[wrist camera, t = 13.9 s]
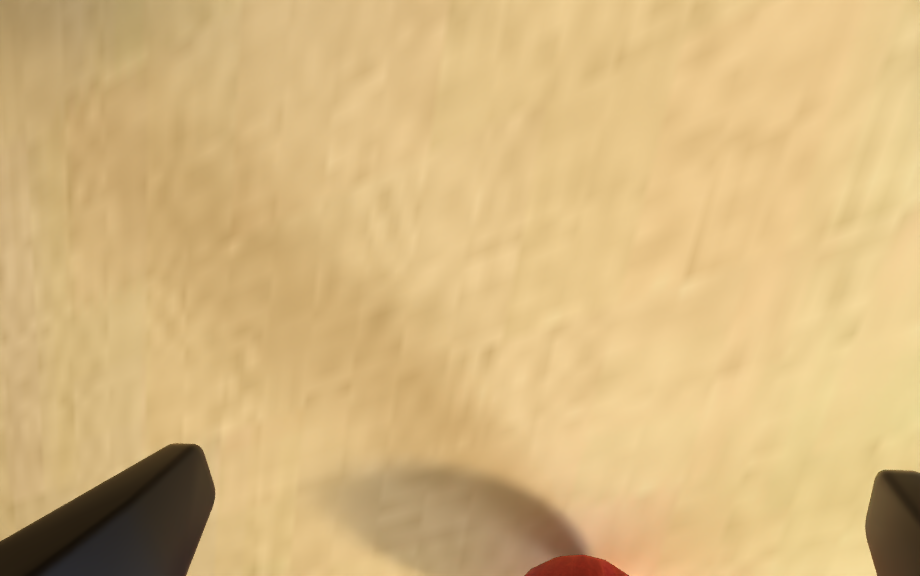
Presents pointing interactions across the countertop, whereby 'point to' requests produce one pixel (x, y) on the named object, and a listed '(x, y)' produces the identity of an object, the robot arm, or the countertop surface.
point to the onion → (576, 567)
